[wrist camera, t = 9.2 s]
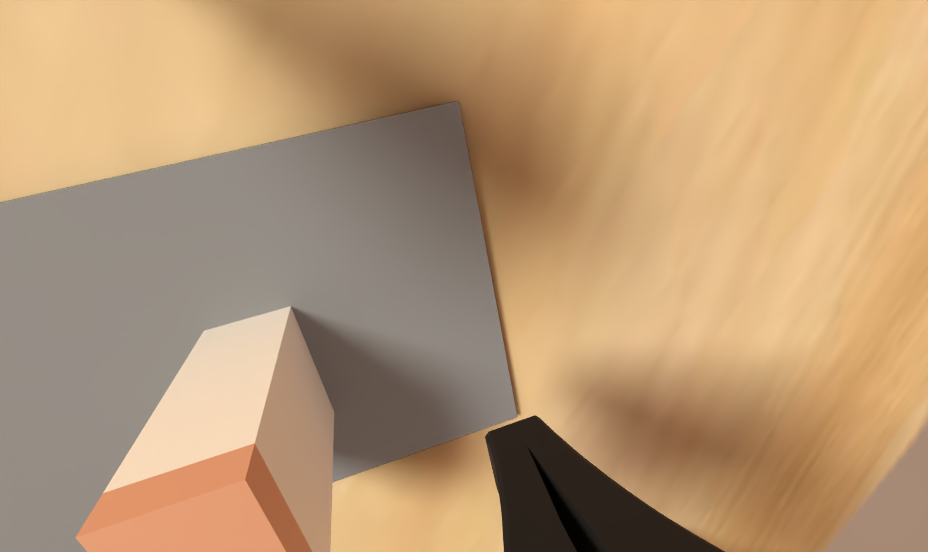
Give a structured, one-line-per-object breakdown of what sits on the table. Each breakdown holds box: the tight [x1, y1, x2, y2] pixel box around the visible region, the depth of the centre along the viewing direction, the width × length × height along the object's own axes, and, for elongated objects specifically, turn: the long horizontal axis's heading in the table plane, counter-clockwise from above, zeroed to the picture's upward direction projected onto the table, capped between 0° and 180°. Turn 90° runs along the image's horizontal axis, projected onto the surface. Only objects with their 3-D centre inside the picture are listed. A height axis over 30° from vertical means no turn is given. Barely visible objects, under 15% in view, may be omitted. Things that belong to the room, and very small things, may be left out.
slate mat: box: [0, 101, 517, 552], centre depth 16 cm, size 22×14×1 cm, turn 101°
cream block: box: [75, 306, 334, 552], centre depth 13 cm, size 3×5×8 cm, turn 11°
